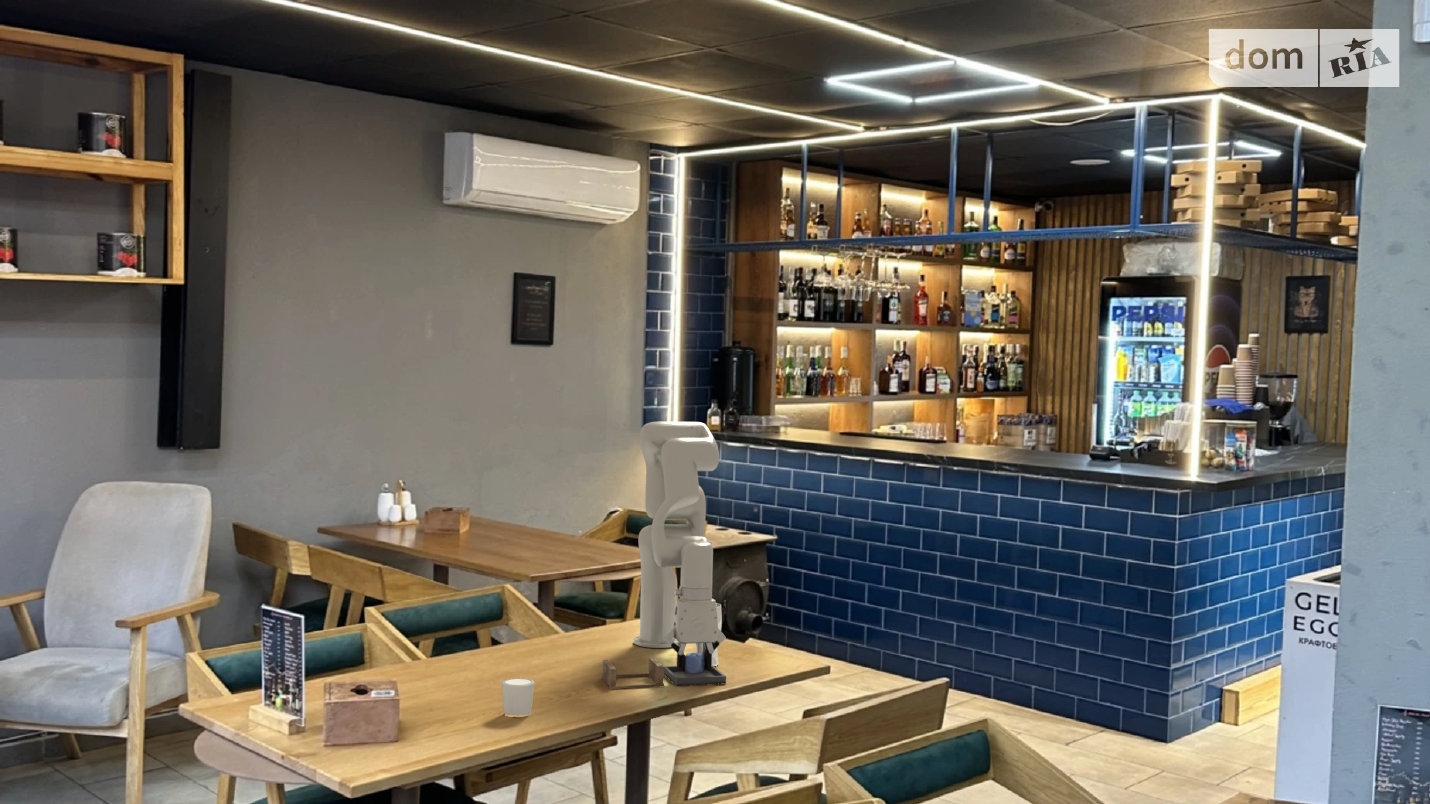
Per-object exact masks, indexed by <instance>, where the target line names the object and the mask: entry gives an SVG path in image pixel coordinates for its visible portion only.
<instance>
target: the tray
mask: <svg viewBox="0 0 1430 804" xmlns="http://www.w3.org/2000/svg"><path fill="white" fill-rule="evenodd" d="M663 667H664V672H663V676H665V677H666V678H667V679H668V678H669V679H670V680H669V679H668V680H669V681H670V682H671V681H672V682H673V683H674V684H673V683H672V682H671V683H672V684H673V685H674V686H675V685H676V686H678V687H690V685H697V686H708V685H707V684H715V685H722V684H721V683H726V684H727V676H726V675H725V673H723V672H722V671H720V670H719V669H718V668H716V667H714V666H713V665H711V666H710V670H706V669H705V668H704V670H703V672H701V673H696V674H694V673H688V672H686V671H684V672H682V671H681V670H679V668H678V667H677V665H672V666H671V665H667V666H663ZM718 683H719V684H718ZM676 686H675V687H676Z"/></svg>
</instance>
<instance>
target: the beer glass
mask: <svg viewBox="0 0 1430 804" xmlns="http://www.w3.org/2000/svg"><path fill="white" fill-rule="evenodd" d="M716 608H717V618H718V628H719V629H720V631H721V632H722V624H723V623H722V618H723V617H722V604H721V603H718V602H716ZM711 643H712V642H711ZM695 647H696V648H695V653H700V654H702V655H703V653H704V651H705V649H706V648H705V645H704V643H695ZM718 648H719V646H718V647H717V648H716V649H715V650H714V652H713V653H712V665H713V666H716V667H718V666H719V665H718V664H720V661H719V656H718V655H719V654H718V653H719V652H718V651H719V650H718ZM717 665H718V666H717Z"/></svg>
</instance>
